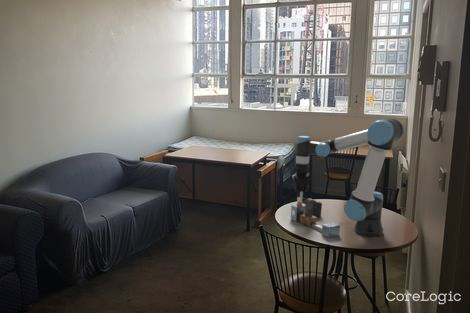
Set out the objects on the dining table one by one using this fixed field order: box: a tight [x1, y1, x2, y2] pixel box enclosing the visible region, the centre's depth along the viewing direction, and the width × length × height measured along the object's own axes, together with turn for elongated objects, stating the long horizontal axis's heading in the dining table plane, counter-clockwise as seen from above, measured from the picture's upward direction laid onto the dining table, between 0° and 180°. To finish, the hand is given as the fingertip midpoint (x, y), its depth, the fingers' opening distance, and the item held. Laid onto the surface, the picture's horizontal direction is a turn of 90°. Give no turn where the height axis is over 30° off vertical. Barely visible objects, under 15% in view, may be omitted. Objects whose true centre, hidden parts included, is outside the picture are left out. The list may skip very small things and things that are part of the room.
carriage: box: [300, 197, 318, 228], centre depth 233 cm, size 8×6×15 cm
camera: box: [302, 196, 323, 218], centre depth 254 cm, size 14×11×10 cm
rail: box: [290, 203, 341, 239], centre depth 229 cm, size 32×8×9 cm, turn 30°
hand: (299, 201), depth 240 cm, fingers closed
